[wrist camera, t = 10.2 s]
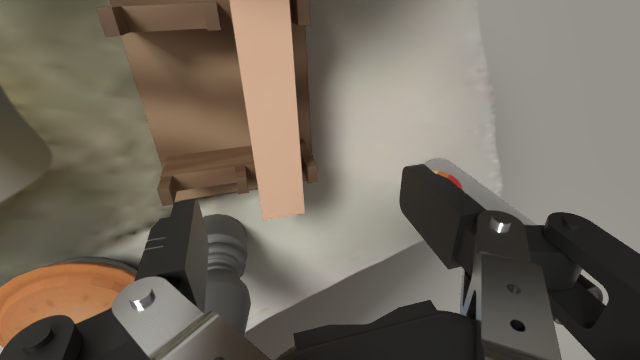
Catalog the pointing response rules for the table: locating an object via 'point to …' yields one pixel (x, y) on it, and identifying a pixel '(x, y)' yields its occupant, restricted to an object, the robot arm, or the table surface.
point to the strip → (270, 102)
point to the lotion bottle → (492, 205)
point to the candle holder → (227, 271)
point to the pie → (61, 292)
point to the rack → (200, 91)
